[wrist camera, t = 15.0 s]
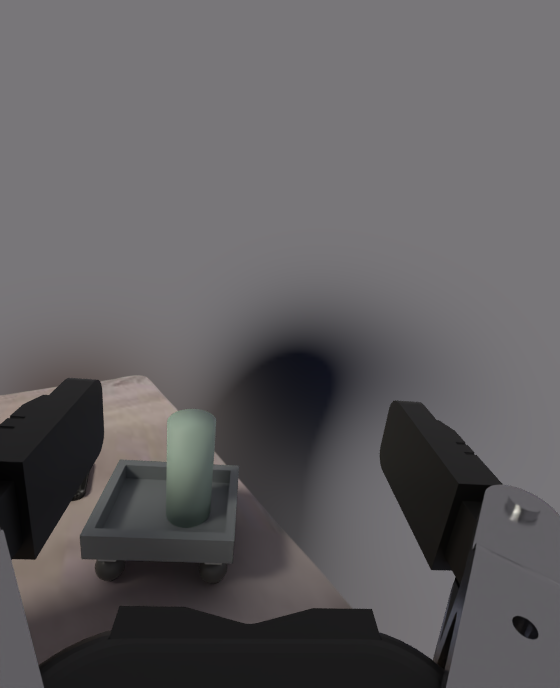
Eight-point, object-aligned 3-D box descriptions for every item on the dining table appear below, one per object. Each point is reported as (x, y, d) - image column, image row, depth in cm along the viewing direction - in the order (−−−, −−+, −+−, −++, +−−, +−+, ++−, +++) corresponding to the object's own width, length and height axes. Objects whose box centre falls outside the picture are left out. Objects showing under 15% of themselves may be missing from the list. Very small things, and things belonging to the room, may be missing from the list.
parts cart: (84, 591, 40) (79, 535, 38) (121, 506, 52) (120, 459, 49) (229, 594, 42) (234, 541, 39) (234, 511, 53) (238, 465, 51)
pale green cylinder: (161, 527, 42) (162, 432, 38) (170, 494, 47) (172, 407, 43) (207, 528, 43) (213, 435, 39) (212, 496, 48) (217, 410, 44)
